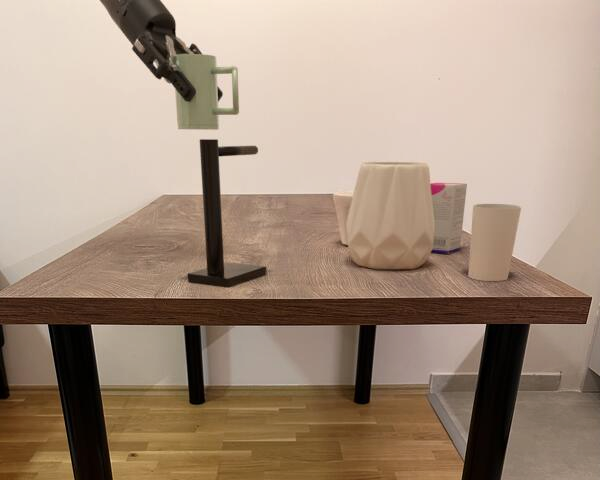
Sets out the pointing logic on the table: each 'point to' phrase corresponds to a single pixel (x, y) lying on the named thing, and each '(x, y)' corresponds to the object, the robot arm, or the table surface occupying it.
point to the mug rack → (219, 221)
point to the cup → (343, 211)
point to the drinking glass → (492, 241)
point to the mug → (203, 92)
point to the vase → (391, 216)
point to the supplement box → (448, 216)
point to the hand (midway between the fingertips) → (205, 98)
